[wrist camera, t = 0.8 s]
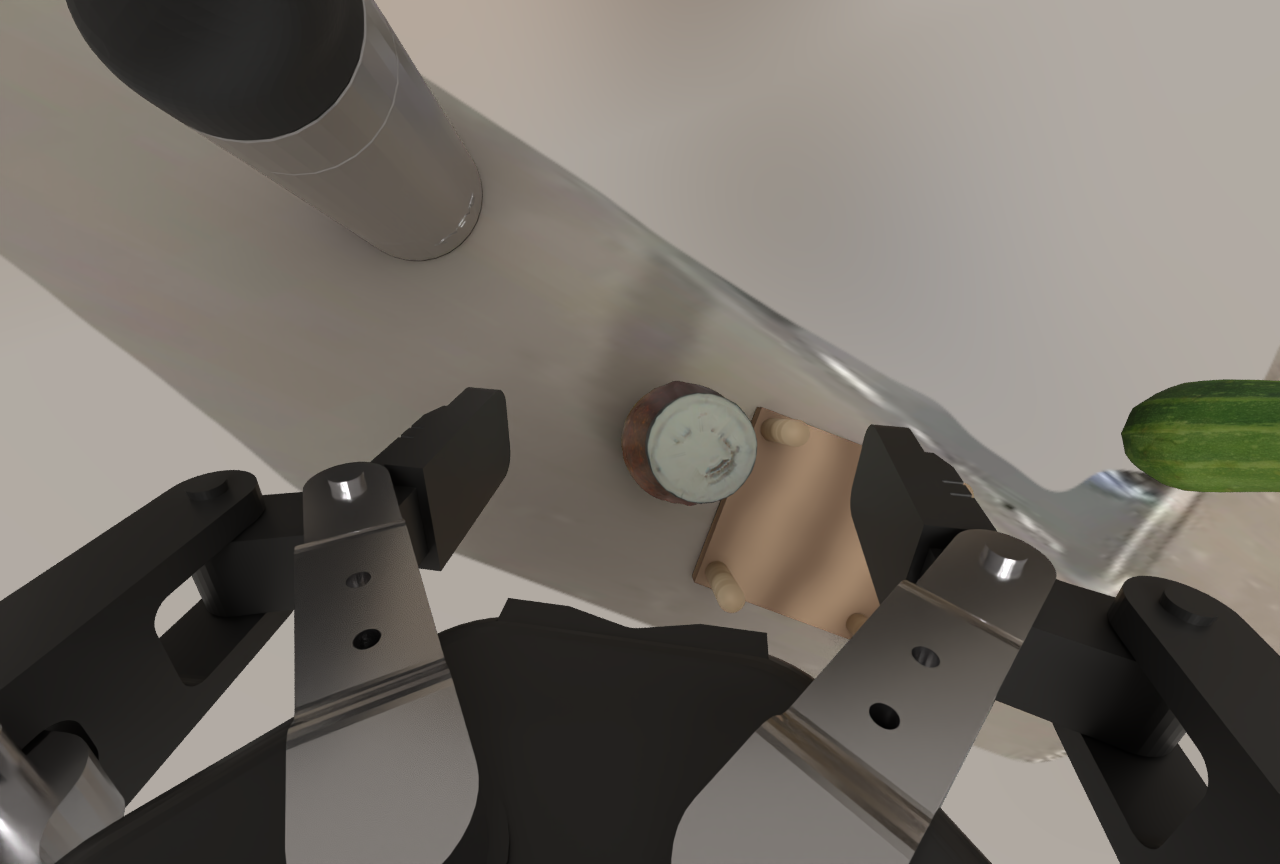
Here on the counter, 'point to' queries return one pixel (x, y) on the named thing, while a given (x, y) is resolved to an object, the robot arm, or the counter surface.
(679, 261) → the counter surface
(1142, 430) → the vegetable
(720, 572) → the peg stand
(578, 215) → the counter surface
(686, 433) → the sauce bottle
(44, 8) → the counter surface
